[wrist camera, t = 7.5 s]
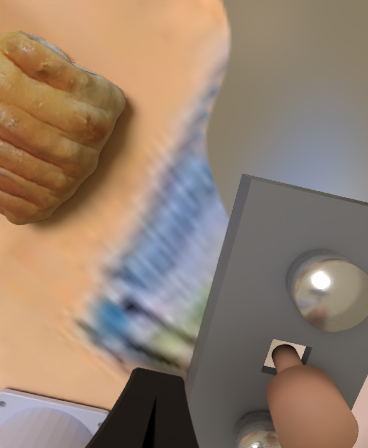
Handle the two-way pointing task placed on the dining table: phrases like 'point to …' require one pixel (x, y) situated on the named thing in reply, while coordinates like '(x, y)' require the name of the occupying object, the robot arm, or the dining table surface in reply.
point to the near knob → (328, 290)
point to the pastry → (48, 125)
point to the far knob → (255, 431)
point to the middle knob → (307, 405)
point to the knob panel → (271, 304)
